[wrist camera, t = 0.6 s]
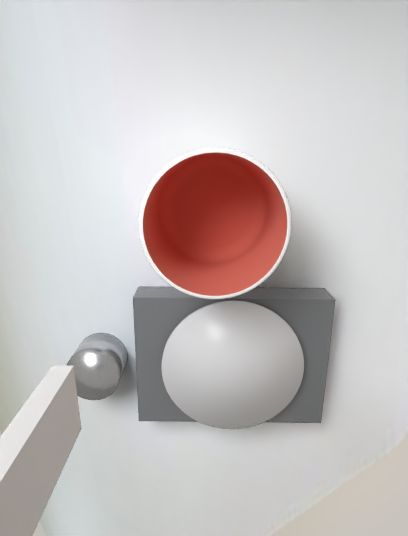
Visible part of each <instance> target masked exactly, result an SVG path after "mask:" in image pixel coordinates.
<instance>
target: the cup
mask: <svg viewBox="0 0 408 536" xmlns="http://www.w3.org/2000/svg"><path fill="white" fill-rule="evenodd" d="M290 234H291V211H290V206H289V202H288V199H287V196H286V193H285V191H284V189H283V187H282V185H281V184H280V182H279V181H278V179H277V178H276V176H275V175H274V174H273V173H272V172H271V171H270V170H269V169H268V168H267V167H266V166H265V165H264V164H262V163H261V162H260V161H258V160H257V159H255V158H254V157H252V156H250V155H248V154H246V153H243V152H240V151H237V150H234V149H229V148H219V147H212V148H203V149H197V150H194V151H191V152H188V153H186V154H183V155H181V156H179V157H177V158H176V159H174V160H173V161H171V162H170V163H168V164H167V165H166V166H165V167H164V168H163V169H162V170H161V171H160V172H159V173H158V174H157V175H156V176H155V177H154V179H153V180H152V182H151V183H150V185H149V186H148V188H147V190H146V192H145V195H144V197H143V200H142V203H141V207H140V212H139V235H140V240H141V245H142V248H143V251H144V253H145V255H146V257H147V259H148V261H149V263H150V264H151V266H152V267H153V269H154V270H155V271H156V273H157V274H158V275H159V276H160V277H161V278H162V279H163V280H165V281H166V282H167V283H168V284H169V285H171V286H172V287H174V288H175V289H177V290H179V291H181V292H183V293H186V294H188V295H191V296H195V297H199V298H204V299H224V298H231V297H234V296H238V295H241V294H243V293H246V292H248V291H250V290H252V289H254V288H255V287H257V286H258V285H260V284H261V283H262V282H264V281H265V280H266V279H267V278H268V277H269V276H270V275H271V274H272V273H273V272H274V270H275V269H276V268H277V266H278V265H279V263H280V262H281V260H282V258H283V256H284V254H285V252H286V250H287V247H288V244H289V240H290Z"/></svg>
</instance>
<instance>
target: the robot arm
mask: <svg viewBox="0 0 408 536" xmlns="http://www.w3.org/2000/svg"><path fill="white" fill-rule="evenodd" d="M80 430H81V422H80V414H79V406H78V397H77V389H76V381H75V373H74V366H52V367H51V368H50V370H49V371H48V372H47V374H46V375H45V377H44V378H43V379H42V381H41V382H40V383H39V385H38V386H37V388H36V389H35V390H34V392H33V393H32V394H31V396H30V397H29V399H28V400H27V401H26V403H25V404H24V405H23V407H22V408H21V409H20V411H19V412H18V414H17V415H16V416H15V418H14V419H13V420H12V422H11V423H10V425H9V426H8V427H7V429H6V430H5V431H4V433H3V434H2V436H1V437H0V536H32V535H33V533H34V531H35V529H36V527H37V524H38V522H39V520H40V518H41V516H42V514H43V511H44V509H45V507H46V505H47V503H48V500H49V498H50V496H51V494H52V492H53V489H54V487H55V485H56V483H57V481H58V478H59V476H60V474H61V472H62V470H63V467H64V465H65V463H66V461H67V459H68V457H69V454H70V452H71V450H72V448H73V446H74V443H75V441H76V439H77V437H78V435H79V432H80Z"/></svg>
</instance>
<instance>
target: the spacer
mask: <svg viewBox="0 0 408 536" xmlns="http://www.w3.org/2000/svg"><path fill="white" fill-rule="evenodd" d="M126 362H127V351H126V348H125V346H124V344H123V343H122V342H121V341H120V340H119V339H118V338H116V337H115V336H113V335H110V334H106V333H96V334H92V335H90V336H88V337H87V338H85V339H84V340H83V342H82V343H81V344H80V346H79V347H78V349H77V350H76V352H75V353H74V355H73V356H72V357H71V359H70V360H69V362H68V363H67V365H66V366H74V373H75V381H76V389H77V396H79V397H81V398H84V399H88V400H100V399H103V398H106V397H108V396H109V395H111V394H112V393H113V392H114V390H115V389H116V387H117V385H118V382H119V380H120V377H121V375H122V372H123V370H124V367H125V365H126Z"/></svg>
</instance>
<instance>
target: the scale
mask: <svg viewBox="0 0 408 536" xmlns="http://www.w3.org/2000/svg"><path fill="white" fill-rule="evenodd" d="M334 306H335V299H334V298H333V297H332V296H331V295H330V293H329V292H328V291H327V290H326V289H325V288H254V289H252V290H250V291H248V292H246V293H243V294H241V295H238V296H234V297H231V298H224V299H204V298H199V297H195V296H191V295H188V294H186V293H183V292H181V291H179V290H177V289H175V288H174V287H138V289H137V291H136V293H135V295H134V297H133V308H134V329H135V350H136V371H137V392H138V413H139V421H192V422H200V423H203V424H205V425H209V426H212V427H217V428H223V429H240V428H246V427H251V426H254V425H258V424H260V423H263V422H291V423H321V418H322V410H323V401H324V392H325V384H326V375H327V366H328V358H329V349H330V340H331V332H332V323H333V315H334Z"/></svg>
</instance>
